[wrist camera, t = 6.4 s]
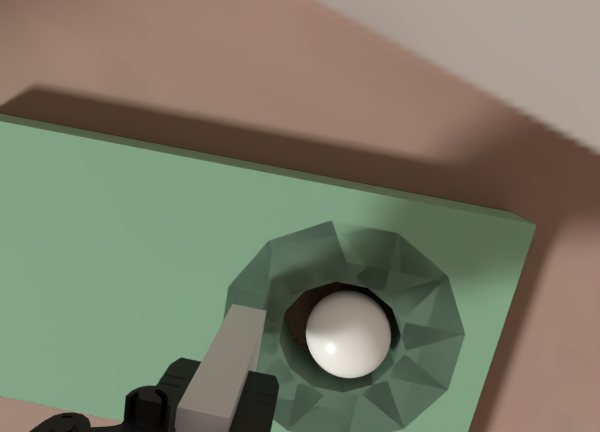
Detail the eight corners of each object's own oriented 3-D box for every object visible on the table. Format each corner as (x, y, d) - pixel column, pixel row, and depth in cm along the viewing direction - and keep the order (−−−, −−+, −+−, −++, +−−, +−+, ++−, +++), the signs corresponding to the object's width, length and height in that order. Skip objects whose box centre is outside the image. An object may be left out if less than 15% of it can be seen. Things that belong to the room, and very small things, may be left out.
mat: (-11, 358, 24) (-50, 385, 21) (-10, 111, 20) (-57, 110, 18) (435, 451, 23) (448, 490, 21) (511, 211, 20) (537, 224, 17)
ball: (361, 346, 22) (393, 397, 19) (291, 343, 21) (310, 397, 18) (378, 279, 21) (416, 320, 18) (306, 273, 20) (329, 315, 17)
